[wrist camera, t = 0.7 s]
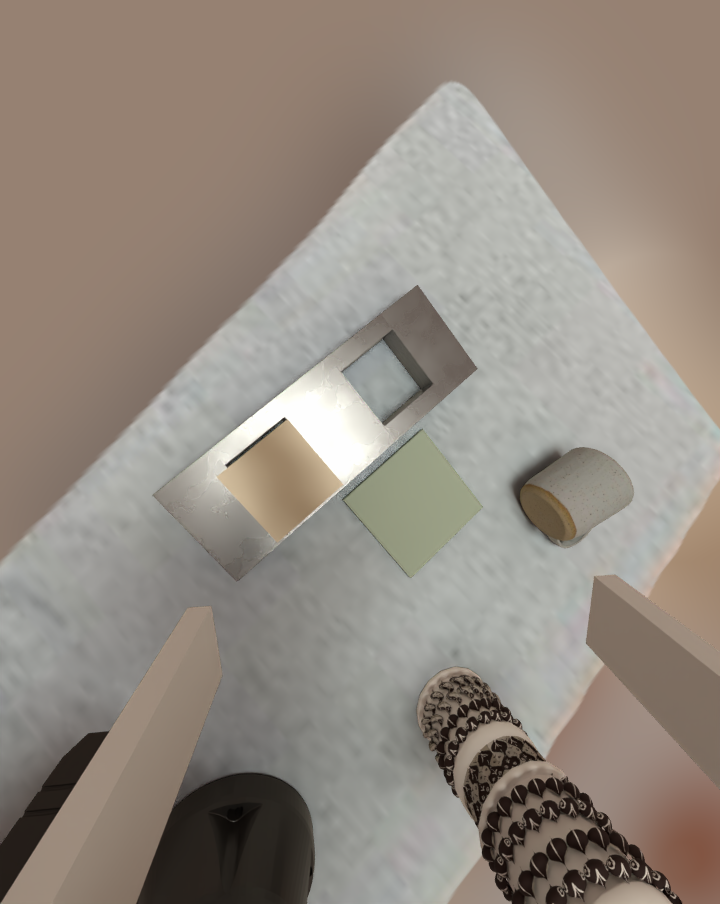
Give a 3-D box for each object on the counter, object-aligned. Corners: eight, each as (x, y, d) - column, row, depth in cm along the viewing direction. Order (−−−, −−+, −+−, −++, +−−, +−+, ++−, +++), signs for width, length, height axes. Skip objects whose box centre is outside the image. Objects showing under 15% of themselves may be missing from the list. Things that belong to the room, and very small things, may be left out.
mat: (408, 576, 37) (410, 578, 36) (342, 499, 35) (343, 500, 34) (480, 506, 38) (483, 506, 38) (420, 429, 37) (422, 429, 36)
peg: (277, 503, 33) (277, 542, 20) (241, 464, 33) (216, 476, 19) (316, 469, 34) (343, 484, 21) (283, 430, 33) (287, 418, 20)
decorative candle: (504, 697, 40) (866, 1097, 15) (449, 764, 38) (753, 1325, 14) (456, 645, 38) (773, 998, 14) (396, 712, 37) (634, 1241, 12)
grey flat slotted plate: (240, 569, 33) (237, 581, 30) (164, 490, 31) (152, 495, 28) (462, 374, 38) (477, 368, 35) (406, 297, 36) (417, 284, 33)
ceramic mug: (503, 482, 39) (558, 492, 32) (556, 445, 41) (619, 446, 33) (543, 558, 41) (603, 585, 33) (592, 519, 42) (660, 536, 35)
